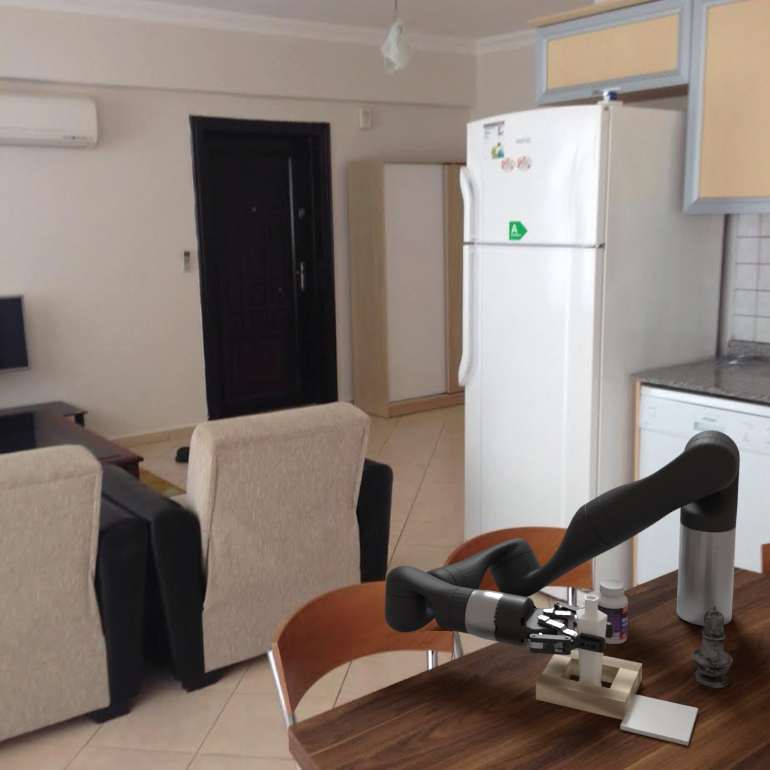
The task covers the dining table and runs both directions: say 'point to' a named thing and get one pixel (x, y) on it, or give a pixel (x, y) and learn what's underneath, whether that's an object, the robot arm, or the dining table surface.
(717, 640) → the black chess piece
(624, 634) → the pill bottle
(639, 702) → the coaster
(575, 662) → the frame
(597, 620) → the white vase
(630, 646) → the dining table surface
